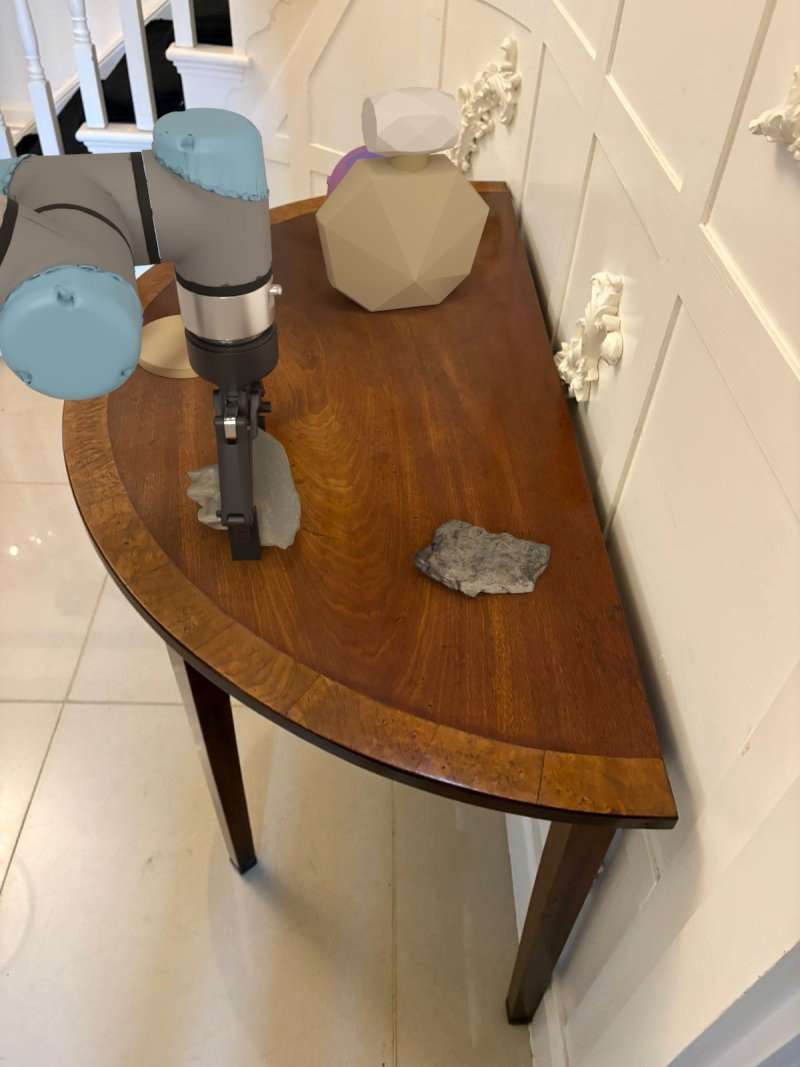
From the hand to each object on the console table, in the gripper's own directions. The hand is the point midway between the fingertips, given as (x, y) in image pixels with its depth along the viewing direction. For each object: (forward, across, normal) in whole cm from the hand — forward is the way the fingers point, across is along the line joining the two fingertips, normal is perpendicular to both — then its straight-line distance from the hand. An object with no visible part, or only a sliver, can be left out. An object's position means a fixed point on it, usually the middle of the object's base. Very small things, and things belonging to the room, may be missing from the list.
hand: (251, 509), depth 80 cm
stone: (+2, -6, -23) cm, 24 cm away
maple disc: (+2, +32, +11) cm, 33 cm away
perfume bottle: (+2, +46, -18) cm, 50 cm away
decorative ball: (+2, +64, -15) cm, 65 cm away
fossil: (+2, 0, 0) cm, 2 cm away
